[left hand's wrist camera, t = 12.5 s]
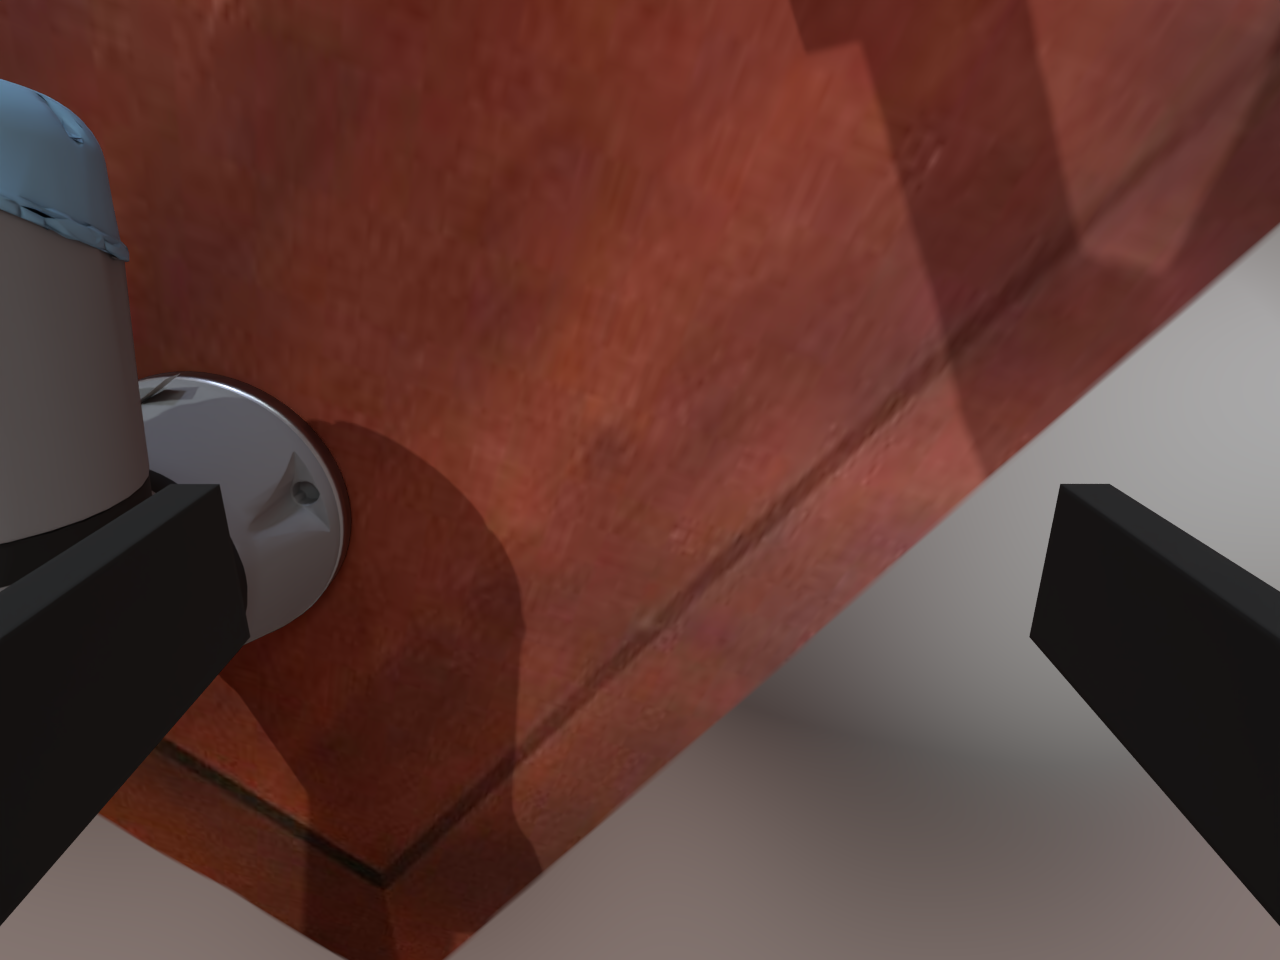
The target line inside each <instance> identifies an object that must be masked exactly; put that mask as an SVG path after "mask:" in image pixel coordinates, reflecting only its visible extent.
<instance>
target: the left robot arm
mask: <svg viewBox="0 0 1280 960" xmlns="http://www.w3.org/2000/svg"><path fill="white" fill-rule="evenodd" d="M128 261H129V252H128V249H127V247H126V246H125V245H124V244H123V243H122V242H121V241H120V236H119V231H118V226H117V222H116V217H115V212H114V207H113V203H112V197H111V191H110V186H109V180H108V174H107V169H106V163H105V159H104V156H103V152H102V150H101V148H100V145H99V143H98V141H97V140H96V138H95V137H94V135H93V133H92V132H91V131H90V129H89V128H88V127H87V126H86V125H85V124H84V122H83V121H82V120H81V119H80V118H79V117H78V116H76V115H75V114H74V113H73V112H72V111H71V110H69V109H68V108H66V107H65V106H63V105H62V104H60V103H59V102H57V101H55V100H53V99H52V98H50V97H48V96H46V95H44V94H41V93H39V92H37V91H34V90H31V89H29V88H26V87H24V86H21V85H18V84H15V83H11V82H8V81H5V80H2V79H0V926H1V924H2V923H3V922H4V921H5V920H6V919H7V918H8V916H9V915H10V914H11V913H12V912H13V911H14V910H15V908H16V907H17V906H18V905H19V904H20V903H21V901H22V900H23V899H24V898H25V897H26V896H27V895H28V893H29V892H30V891H31V890H32V889H33V888H34V886H35V885H36V884H37V883H38V882H39V881H40V879H41V878H42V877H43V876H44V875H45V874H46V873H47V871H48V870H49V869H50V868H51V867H52V866H53V864H54V863H55V862H56V861H57V860H58V859H59V858H60V856H61V855H62V854H63V853H64V852H65V851H66V849H67V848H68V847H69V846H70V845H71V844H72V843H73V841H74V840H75V839H76V838H77V837H78V836H79V834H80V833H81V832H82V831H83V830H84V829H85V827H86V826H87V825H88V824H89V823H90V822H91V821H92V819H93V818H94V817H95V816H96V815H97V814H98V813H99V811H100V810H101V809H102V808H103V807H104V806H105V804H106V803H107V802H108V801H109V800H110V799H111V797H112V796H113V795H114V794H115V793H116V792H117V791H118V789H119V788H120V787H121V786H122V785H123V784H124V782H125V781H126V780H127V779H128V778H129V777H130V776H131V774H132V773H133V772H134V771H135V770H136V769H137V767H138V766H139V765H140V764H141V763H142V762H143V761H144V759H145V758H146V757H147V756H148V755H149V754H150V752H151V751H152V750H153V749H154V748H155V747H156V746H157V744H158V743H159V742H160V741H161V740H162V739H163V737H164V736H165V735H166V734H167V733H168V732H169V730H170V729H171V728H172V727H173V726H174V725H175V724H176V722H177V721H178V720H179V719H180V718H181V717H182V715H183V714H184V713H185V712H186V711H187V710H188V709H189V707H190V706H191V705H192V704H193V703H194V702H195V700H196V699H197V698H198V697H199V696H200V695H201V694H202V692H203V691H204V690H205V689H206V688H207V687H208V685H209V684H210V683H211V682H212V681H213V680H214V679H215V677H216V676H217V675H218V674H219V673H220V672H221V670H222V669H223V668H224V667H225V666H226V665H227V664H228V662H229V661H230V660H231V659H232V658H233V657H234V655H235V654H236V653H237V652H238V651H239V650H240V648H241V647H242V646H243V645H245V644H247V643H249V642H251V641H254V640H256V639H258V638H260V637H262V636H264V635H266V634H268V633H271V632H273V631H275V630H277V629H279V628H281V627H283V626H285V625H287V624H288V623H290V622H291V621H293V620H294V619H296V618H297V617H299V616H300V615H302V614H303V613H304V612H305V611H306V610H308V609H309V608H310V607H311V606H312V605H313V604H314V603H315V602H316V601H317V600H318V599H319V597H320V596H321V595H322V594H323V592H324V591H325V590H326V588H327V587H328V586H329V585H330V583H331V582H332V580H333V579H334V578H335V576H336V575H337V573H338V571H339V569H340V568H341V565H342V563H343V561H344V558H345V556H346V552H347V549H348V545H349V540H350V533H351V510H350V503H349V497H348V493H347V490H346V486H345V483H344V480H343V478H342V475H341V472H340V470H339V468H338V466H337V464H336V462H335V460H334V458H333V457H332V455H331V453H330V452H329V450H328V448H327V447H326V446H325V444H324V443H323V442H322V440H321V439H320V437H319V436H318V435H317V434H316V433H315V432H314V431H313V429H312V428H311V427H310V426H309V425H308V424H307V423H306V422H305V421H304V420H303V419H302V418H301V417H300V416H299V415H297V414H296V413H295V412H294V411H292V410H291V409H290V408H289V407H288V406H286V405H285V404H283V403H282V402H280V401H279V400H277V399H276V398H274V397H273V396H271V395H269V394H267V393H266V392H264V391H262V390H260V389H258V388H256V387H253V386H251V385H249V384H247V383H244V382H241V381H238V380H236V379H232V378H229V377H225V376H221V375H216V374H211V373H204V372H192V371H184V372H169V373H161V374H157V375H152V376H148V377H145V378H142V379H140V380H138V377H137V369H136V360H135V351H134V342H133V334H132V325H131V316H130V307H129V298H128V289H127V280H126V272H125V263H124V262H128ZM1030 638H1031V639H1032V640H1033V642H1034V643H1035V644H1036V645H1037V646H1038V647H1039V648H1040V650H1041V651H1042V652H1043V653H1044V654H1045V655H1046V657H1047V658H1048V659H1049V660H1050V661H1051V662H1052V664H1053V665H1054V666H1055V667H1056V668H1057V669H1058V670H1059V672H1060V673H1061V674H1062V675H1063V676H1064V677H1065V679H1066V680H1067V681H1068V682H1069V683H1070V684H1071V685H1072V687H1073V688H1074V689H1075V690H1076V691H1077V692H1078V694H1079V695H1080V696H1081V697H1082V698H1083V699H1084V700H1085V702H1086V703H1087V704H1088V705H1089V706H1090V707H1091V709H1092V710H1093V711H1094V712H1095V713H1096V714H1097V715H1098V717H1099V718H1100V719H1101V720H1102V721H1103V722H1104V723H1105V725H1106V726H1107V727H1108V728H1109V729H1110V730H1111V732H1112V733H1113V734H1114V735H1115V736H1116V737H1117V739H1118V740H1119V741H1120V742H1121V743H1122V744H1123V745H1124V747H1125V748H1126V749H1127V750H1128V751H1129V752H1130V754H1131V755H1132V756H1133V757H1134V758H1135V759H1136V761H1137V762H1138V763H1139V764H1140V765H1141V766H1142V767H1143V769H1144V770H1145V771H1146V772H1147V773H1148V774H1149V775H1150V777H1151V778H1152V779H1153V780H1154V781H1155V782H1156V784H1157V785H1158V786H1159V787H1160V788H1161V789H1162V791H1163V792H1164V793H1165V794H1166V795H1167V796H1168V797H1169V799H1170V800H1171V801H1172V802H1173V803H1174V804H1175V805H1176V807H1177V808H1178V809H1179V810H1180V811H1181V813H1182V814H1183V815H1184V816H1185V817H1186V818H1187V819H1188V820H1189V822H1190V823H1191V824H1192V825H1193V826H1194V828H1195V829H1196V830H1197V831H1198V832H1199V833H1200V834H1201V836H1202V837H1203V838H1204V839H1205V840H1206V841H1207V843H1208V844H1209V845H1210V846H1211V847H1212V848H1213V849H1214V851H1215V852H1216V853H1217V854H1218V855H1219V856H1220V858H1221V859H1222V860H1223V861H1224V862H1225V863H1226V864H1227V866H1228V867H1229V868H1230V869H1231V870H1232V871H1233V873H1234V874H1235V875H1236V876H1237V877H1238V878H1239V879H1240V881H1241V882H1242V883H1243V884H1244V885H1245V886H1246V888H1247V889H1248V890H1249V891H1250V892H1251V893H1252V895H1253V896H1254V897H1255V898H1256V899H1257V900H1258V901H1259V903H1260V904H1261V905H1262V906H1263V907H1264V908H1265V910H1266V911H1267V912H1268V913H1269V914H1270V915H1271V916H1272V918H1273V919H1274V920H1275V921H1276V922H1277V923H1278V925H1279V926H1280V592H1279V591H1278V590H1276V589H1275V588H1273V587H1272V586H1270V585H1268V584H1267V583H1265V582H1264V581H1262V580H1260V579H1259V578H1257V577H1256V576H1254V575H1253V574H1251V573H1249V572H1248V571H1246V570H1245V569H1243V568H1241V567H1240V566H1238V565H1237V564H1235V563H1234V562H1232V561H1230V560H1229V559H1227V558H1226V557H1224V556H1223V555H1221V554H1219V553H1218V552H1216V551H1215V550H1213V549H1211V548H1210V547H1208V546H1207V545H1205V544H1204V543H1202V542H1200V541H1199V540H1197V539H1196V538H1194V537H1192V536H1191V535H1189V534H1188V533H1186V532H1185V531H1183V530H1181V529H1180V528H1178V527H1177V526H1175V525H1173V524H1172V523H1170V522H1169V521H1167V520H1166V519H1164V518H1162V517H1161V516H1159V515H1158V514H1156V513H1155V512H1153V511H1151V510H1150V509H1148V508H1147V507H1145V506H1143V505H1142V504H1140V503H1139V502H1137V501H1136V500H1134V499H1132V498H1131V497H1129V496H1128V495H1126V494H1124V493H1123V492H1121V491H1120V490H1118V489H1117V488H1115V487H1113V486H1112V485H1110V484H1060V489H1059V494H1058V498H1057V503H1056V508H1055V513H1054V518H1053V523H1052V528H1051V533H1050V538H1049V543H1048V548H1047V553H1046V558H1045V563H1044V568H1043V573H1042V577H1041V582H1040V588H1039V592H1038V597H1037V602H1036V607H1035V612H1034V617H1033V622H1032V627H1031V632H1030Z"/></svg>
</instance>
